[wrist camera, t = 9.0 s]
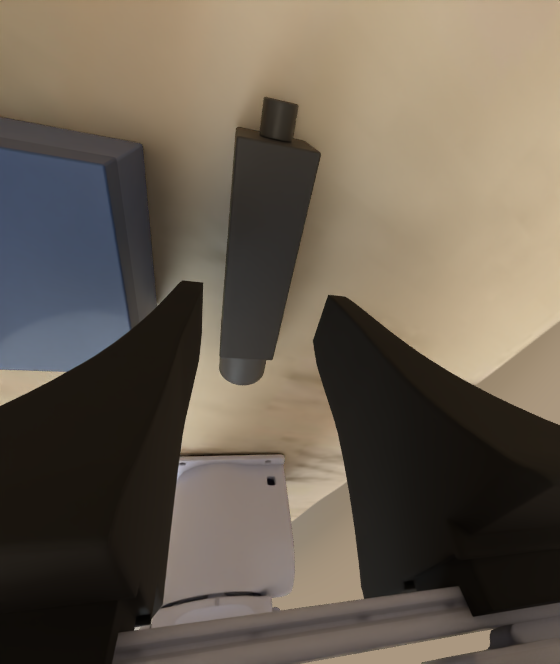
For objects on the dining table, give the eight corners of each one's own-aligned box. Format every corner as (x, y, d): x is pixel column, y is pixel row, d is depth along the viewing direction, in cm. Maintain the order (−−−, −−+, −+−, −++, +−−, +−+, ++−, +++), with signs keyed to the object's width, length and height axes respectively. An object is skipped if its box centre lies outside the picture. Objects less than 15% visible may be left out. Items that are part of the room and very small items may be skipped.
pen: (238, 90, 10) (240, 91, 8) (312, 108, 10) (331, 112, 8) (219, 351, 17) (217, 385, 15) (262, 353, 18) (266, 387, 16)
